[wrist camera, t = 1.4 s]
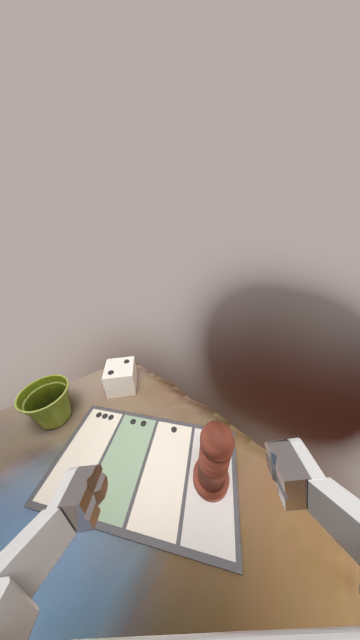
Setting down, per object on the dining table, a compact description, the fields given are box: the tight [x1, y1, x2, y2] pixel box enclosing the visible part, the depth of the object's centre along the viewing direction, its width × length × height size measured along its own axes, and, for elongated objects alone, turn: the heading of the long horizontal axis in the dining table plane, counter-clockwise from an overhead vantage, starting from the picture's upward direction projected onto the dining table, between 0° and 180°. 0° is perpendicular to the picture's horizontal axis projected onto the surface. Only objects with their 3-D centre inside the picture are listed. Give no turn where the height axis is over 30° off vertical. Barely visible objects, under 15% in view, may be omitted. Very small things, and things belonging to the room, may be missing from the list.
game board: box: [24, 405, 243, 575], centre depth 34 cm, size 33×18×1 cm, turn 79°
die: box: [102, 356, 137, 399], centre depth 48 cm, size 7×7×7 cm
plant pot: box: [14, 375, 72, 430], centre depth 40 cm, size 9×9×9 cm
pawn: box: [193, 421, 235, 503], centre depth 28 cm, size 6×6×14 cm
